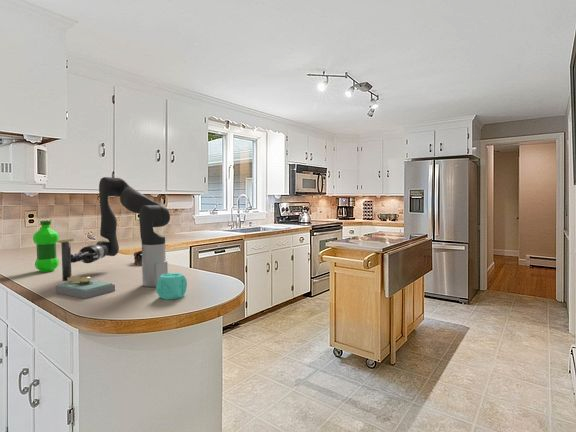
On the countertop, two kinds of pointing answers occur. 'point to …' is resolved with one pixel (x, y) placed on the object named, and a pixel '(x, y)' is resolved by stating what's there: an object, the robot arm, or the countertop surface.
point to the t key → (69, 263)
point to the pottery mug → (138, 257)
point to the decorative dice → (171, 286)
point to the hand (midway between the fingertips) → (72, 260)
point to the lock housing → (85, 289)
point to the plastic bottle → (46, 247)
